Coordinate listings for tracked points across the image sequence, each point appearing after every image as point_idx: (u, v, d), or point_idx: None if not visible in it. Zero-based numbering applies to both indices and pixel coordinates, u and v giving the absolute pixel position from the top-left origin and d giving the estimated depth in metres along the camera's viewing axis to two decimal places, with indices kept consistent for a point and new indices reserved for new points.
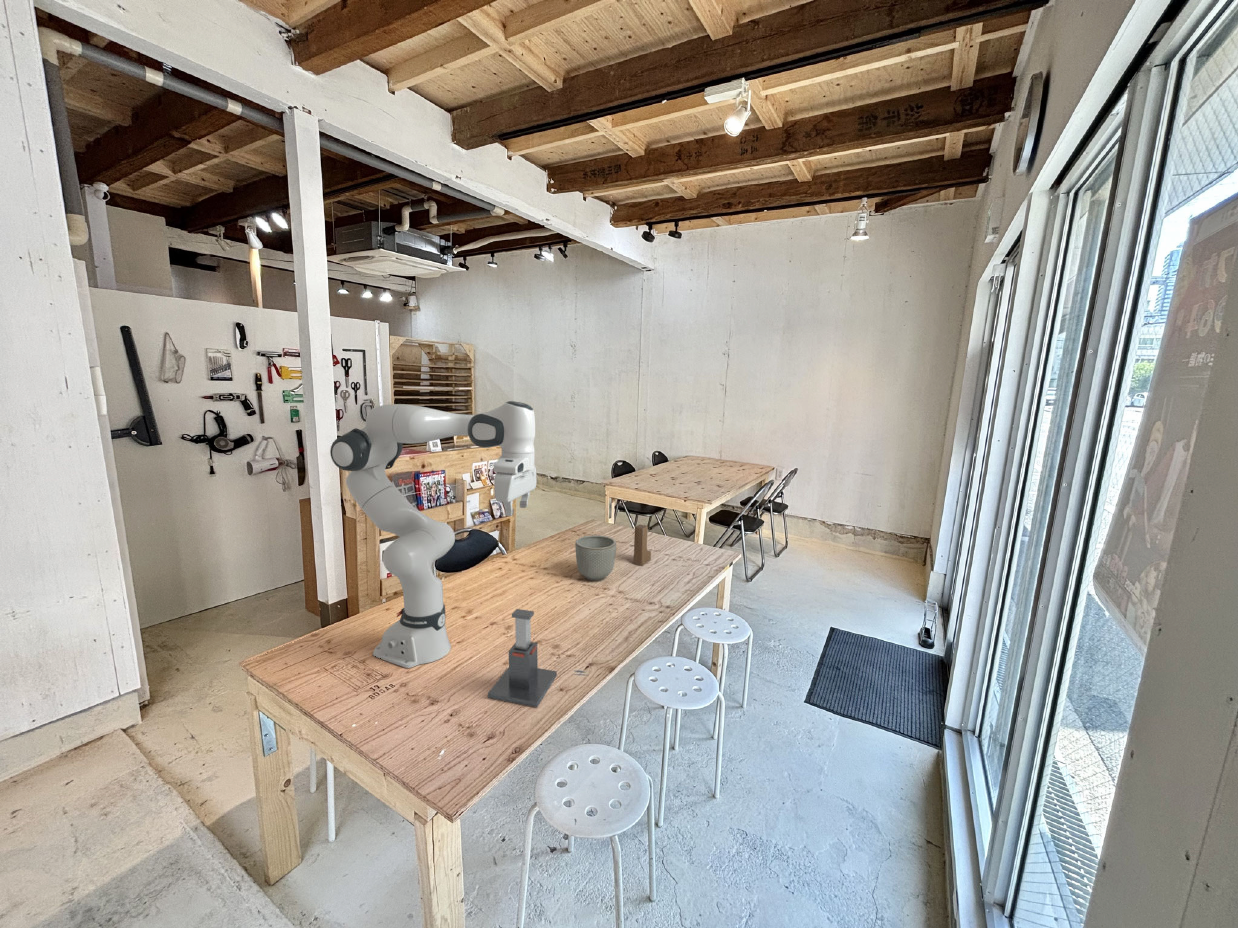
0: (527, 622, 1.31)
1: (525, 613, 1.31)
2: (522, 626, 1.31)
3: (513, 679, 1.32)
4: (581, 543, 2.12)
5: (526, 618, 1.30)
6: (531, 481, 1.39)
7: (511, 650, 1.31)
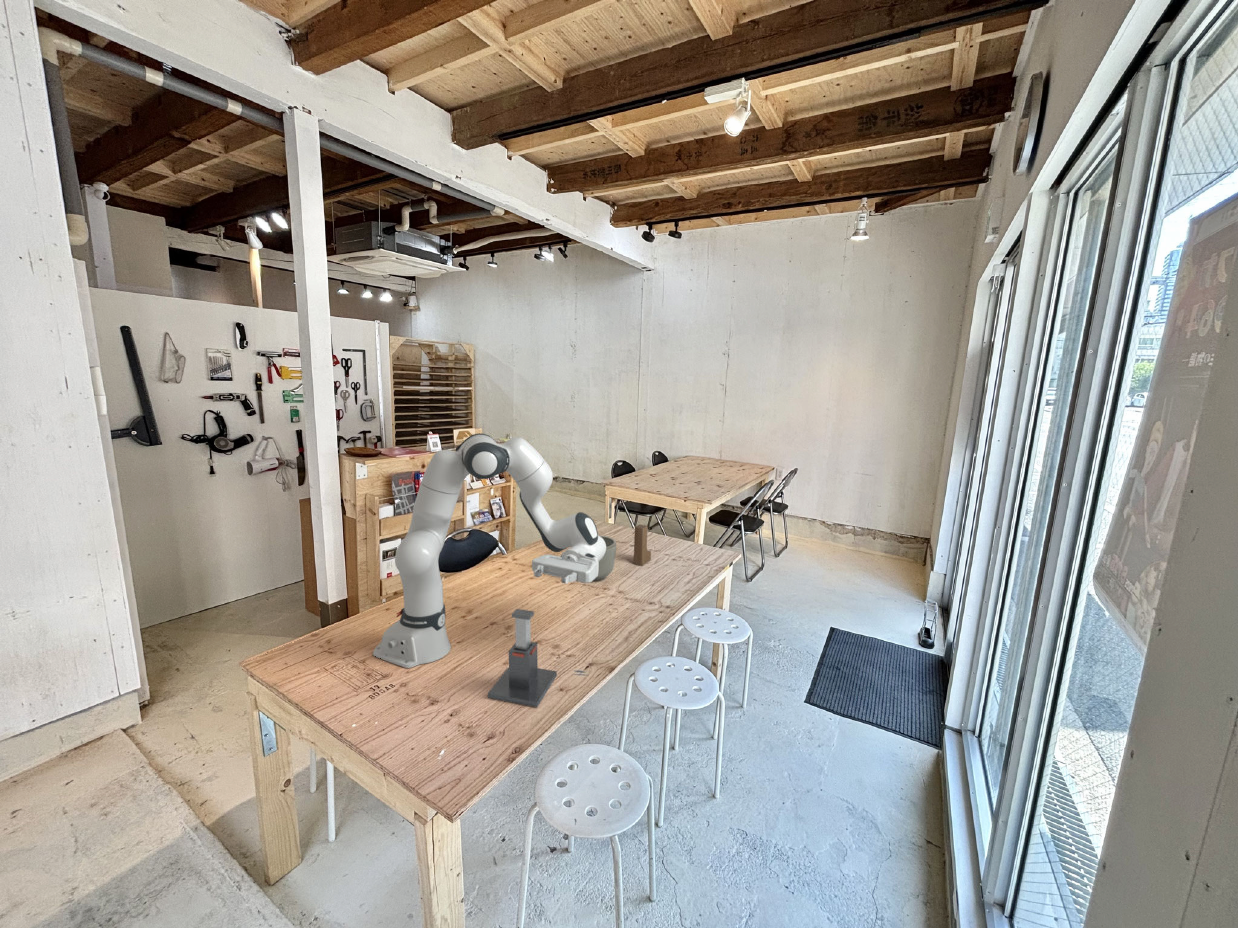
0: (527, 622, 1.31)
1: (525, 613, 1.31)
2: (522, 626, 1.31)
3: (513, 679, 1.32)
4: None
5: (526, 618, 1.30)
6: None
7: (511, 650, 1.31)
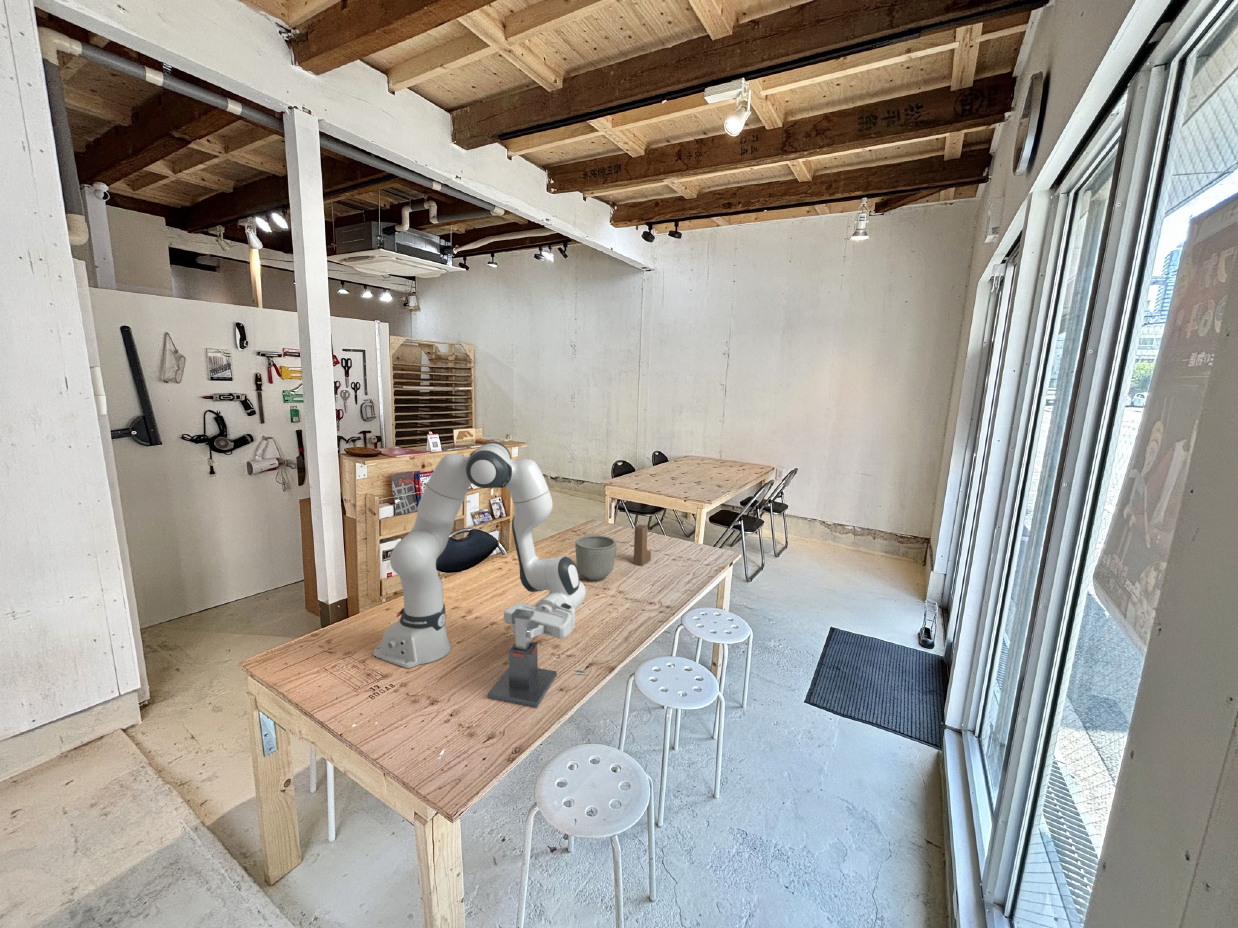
0: (527, 622, 1.31)
1: (525, 613, 1.31)
2: (522, 626, 1.31)
3: (513, 679, 1.32)
4: (581, 543, 2.12)
5: (526, 618, 1.30)
6: None
7: (511, 650, 1.31)
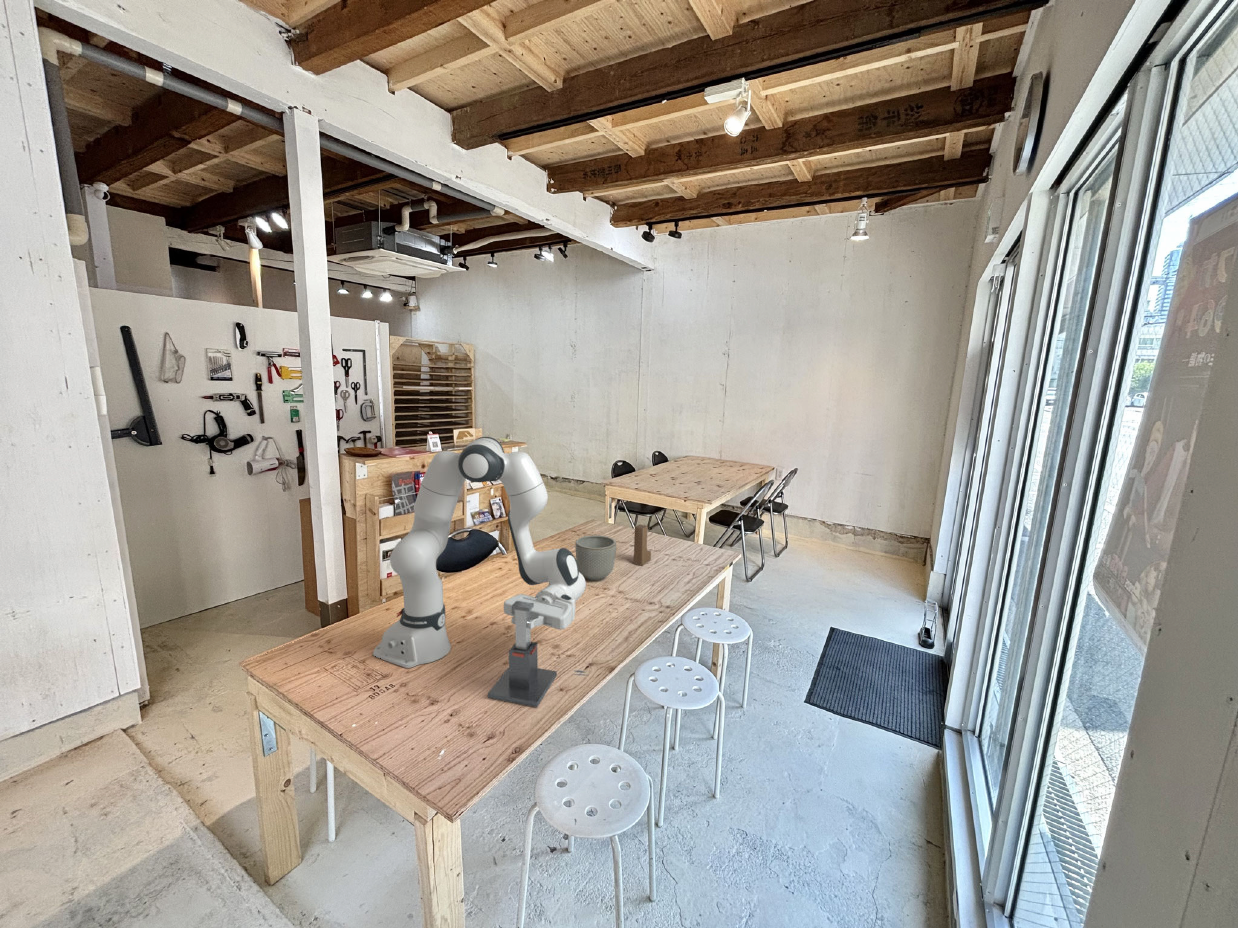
0: (527, 613, 1.31)
1: (525, 605, 1.31)
2: (522, 618, 1.30)
3: (513, 679, 1.32)
4: (581, 543, 2.12)
5: (526, 610, 1.29)
6: None
7: (511, 650, 1.31)
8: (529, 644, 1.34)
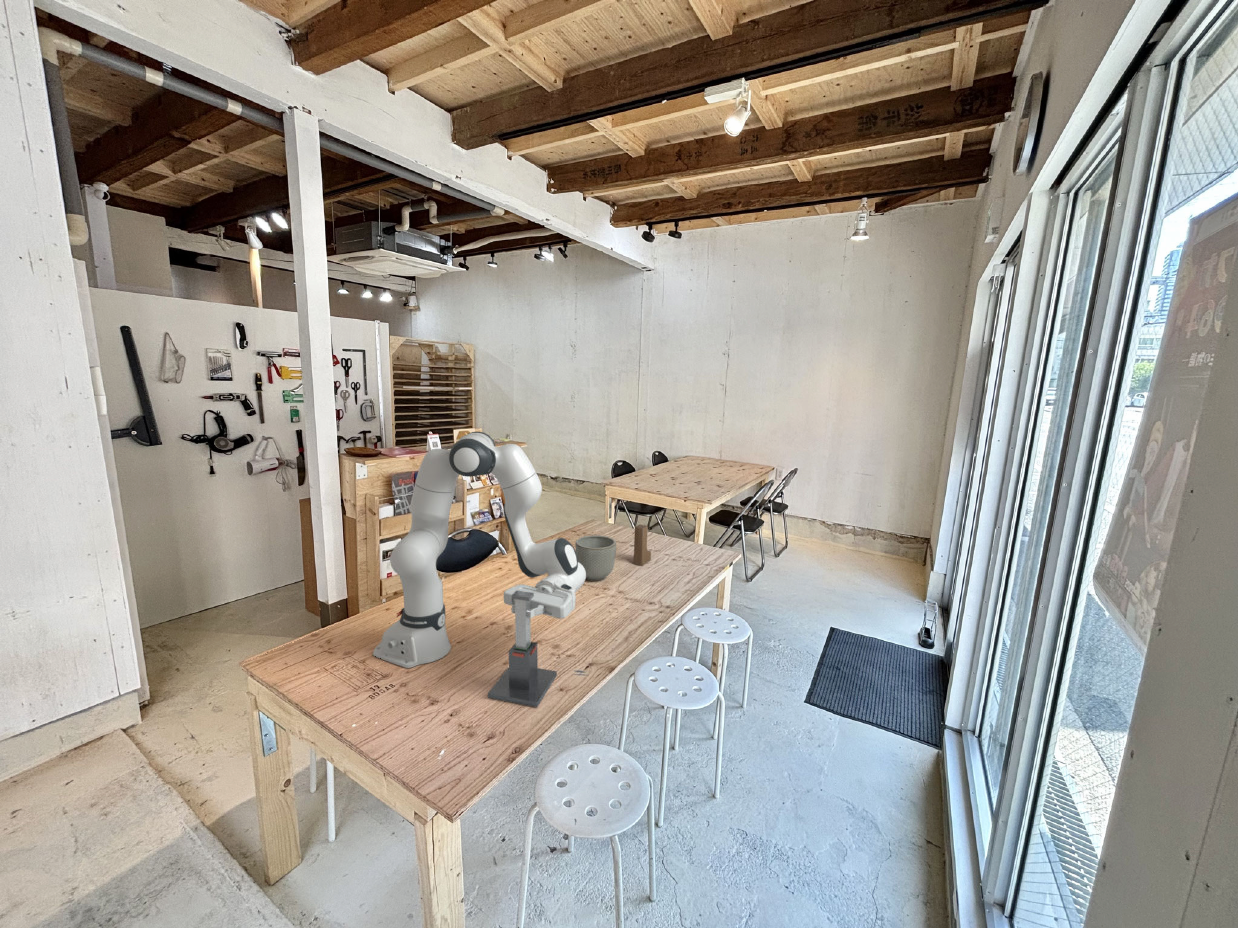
0: (527, 603, 1.30)
1: (525, 594, 1.30)
2: (522, 608, 1.30)
3: (513, 679, 1.32)
4: (581, 543, 2.12)
5: (526, 599, 1.29)
6: None
7: (511, 650, 1.31)
8: (529, 634, 1.33)
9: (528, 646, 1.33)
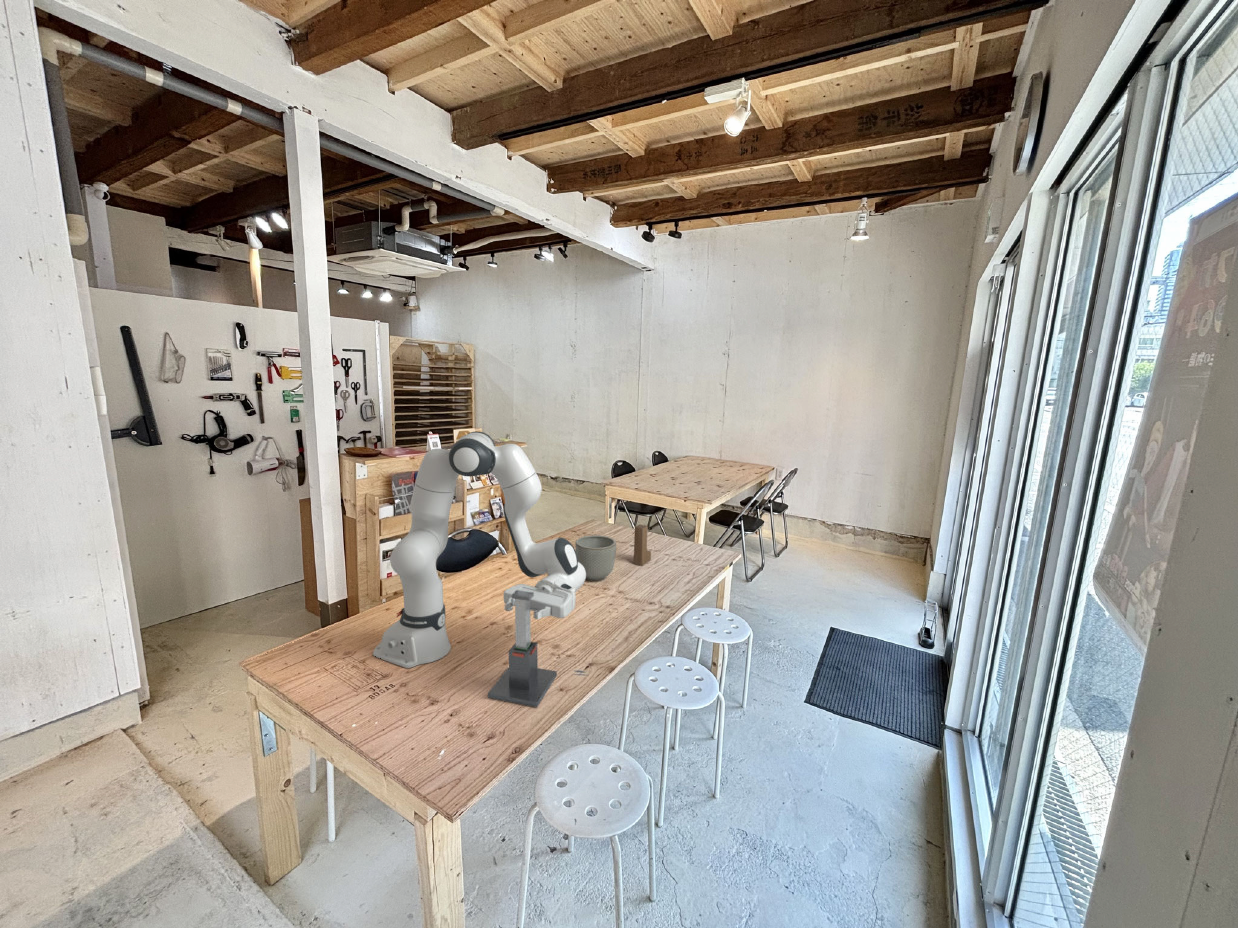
0: (527, 603, 1.30)
1: (525, 594, 1.30)
2: (522, 607, 1.30)
3: (513, 679, 1.32)
4: (581, 543, 2.12)
5: (526, 599, 1.29)
6: None
7: (511, 650, 1.31)
8: (529, 634, 1.33)
9: (528, 646, 1.33)
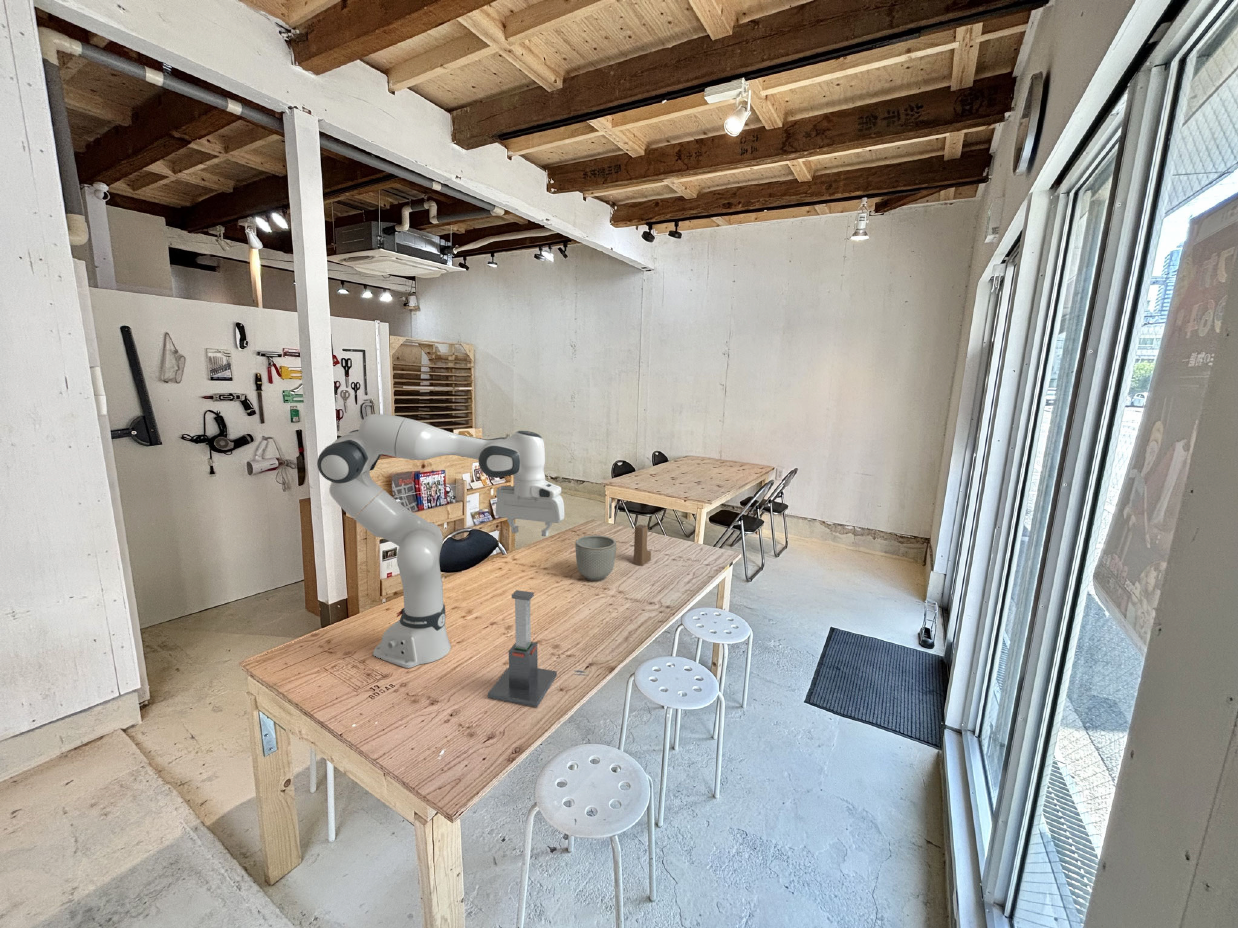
0: (527, 603, 1.30)
1: (525, 594, 1.30)
2: (522, 607, 1.30)
3: (513, 679, 1.32)
4: (581, 543, 2.12)
5: (526, 599, 1.29)
6: None
7: (511, 650, 1.31)
8: (529, 634, 1.33)
9: (528, 646, 1.33)
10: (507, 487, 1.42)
